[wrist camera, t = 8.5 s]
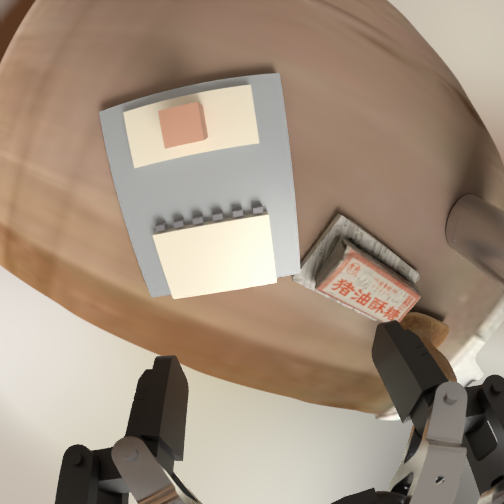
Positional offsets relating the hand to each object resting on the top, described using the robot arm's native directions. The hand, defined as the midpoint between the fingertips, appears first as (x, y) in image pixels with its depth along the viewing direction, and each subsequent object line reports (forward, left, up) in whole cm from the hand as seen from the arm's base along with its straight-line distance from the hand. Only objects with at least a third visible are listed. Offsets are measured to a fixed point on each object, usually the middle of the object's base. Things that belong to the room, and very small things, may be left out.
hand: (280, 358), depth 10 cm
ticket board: (+4, -1, -21) cm, 22 cm away
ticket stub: (+4, -9, -20) cm, 22 cm away
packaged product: (-14, +12, -22) cm, 29 cm away
